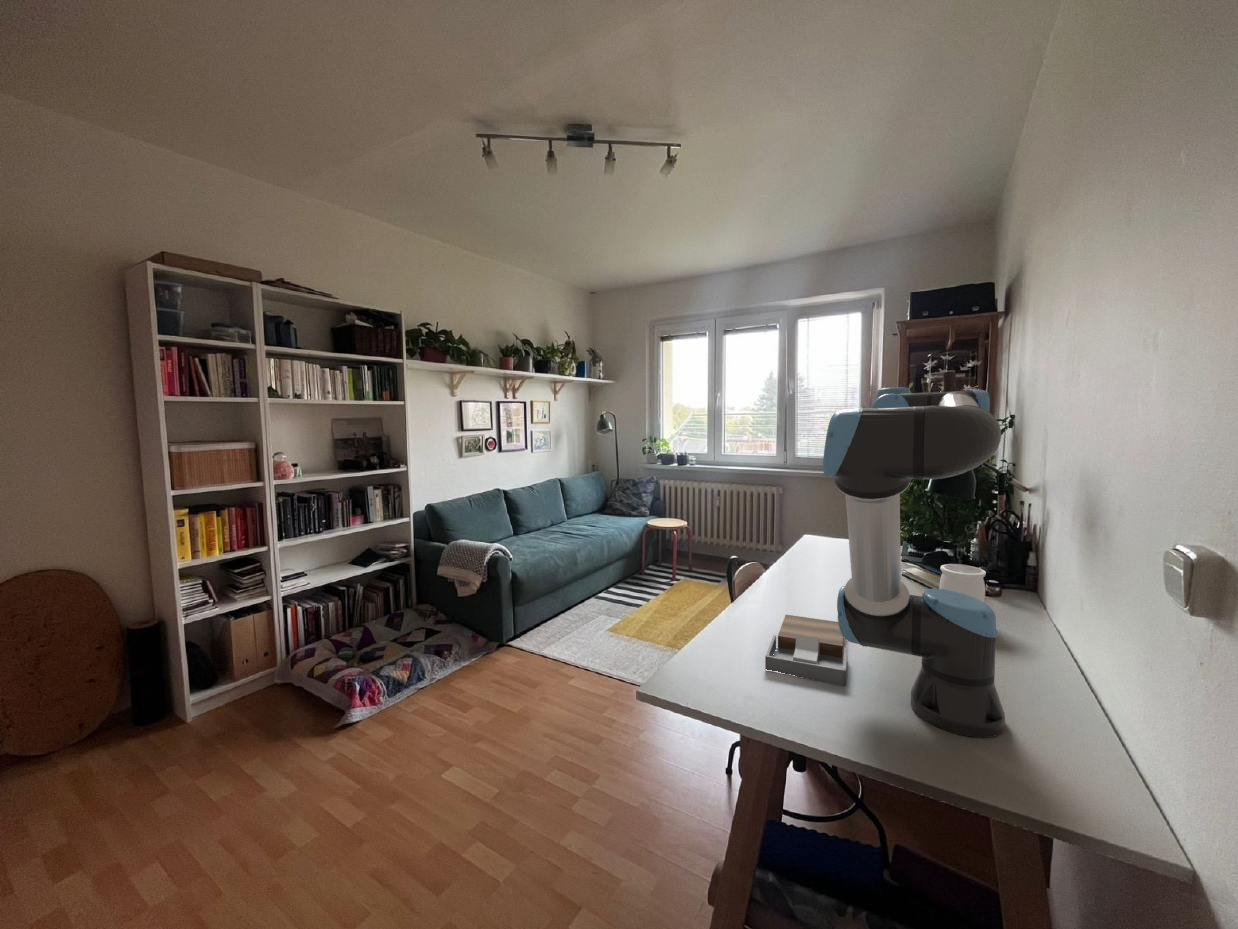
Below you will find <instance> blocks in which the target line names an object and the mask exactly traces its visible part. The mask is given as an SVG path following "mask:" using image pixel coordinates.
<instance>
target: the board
mask: <svg viewBox="0 0 1238 929" xmlns="http://www.w3.org/2000/svg"><path fill="white" fill-rule="evenodd" d="M796 634H797V635H803V636H809V637H816V638H819V642H820V650H819V654H822V655H828V656H834V657H840V658H844V644H845V643H844V640H845V638H844V637H843V635H842V634H841V631H840V628H839V623H838V621H836V620H835V621H834V620H827V619H821V618H820V619H819V618H815V617H814V618H812V617H806V616H800V615H791V614H785V616H784V618H783V621H782V623H781V626H780V629H779V631H778V634H777V647H781V648H786V649H792V650H795V647H796Z"/></svg>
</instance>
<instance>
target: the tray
mask: <svg viewBox="0 0 1238 929" xmlns="http://www.w3.org/2000/svg"><path fill="white" fill-rule="evenodd" d="M776 647H778V646H777V634H773V636H772V638H771V641H770V643H769V646H768V648H767V651H766V653H765V656H764V658H765V660H764V662H765V663H764V664H765V669H767V670H772V671H778V672H781V673H785V674H791V675H795V676H797V678H800V677H803V678H802V679H805V678H808V679H807V680H811V679H813V680H812V681H817V682H821V681H822V682H821V683H827V684H832V685H837V684H838V686H843V687H846V686H847V671H848V668H847V666H848V664H847V663H848V646H845V645H843V658H840V657H834V656H828V655H822V654H819V659H818V664H812V663H807V662H801V661H796V660H793V655H794V652H795V650H792V649H786V648H781V647H778V648H776ZM775 650H777V651H775ZM773 654H774V655H773ZM785 674H784V675H785ZM795 676H794V677H795Z"/></svg>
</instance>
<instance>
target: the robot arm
mask: <svg viewBox="0 0 1238 929" xmlns="http://www.w3.org/2000/svg"><path fill="white" fill-rule="evenodd" d="M875 395H876V397H875V400H874V401H873V403H872V405H871V407H869V408H868V407H867V408H865V407H864V408H863V407H861V406H860V407H858V408H851V409H849V408H848V409H841V410H838V411H835V413H833V414H832V416H831V417H830V419H829V421H828V427H827V430H826V436H825V443H824V450H823V460H822V471H823V475H824V476H826V477H829V478H834V483H835V486H836V488H837V490H838V491H839V492H840V493H842V494H844V495H845V504H846V505H845V507H846V508H845V509H846V521H847V533H848V547H849V548H848V549H849V559H850V572H851V573H850V574H851V578H849V579H848V580H847V582H846V583H845V585H843V586H841V587H840V588H839V590H838V594H837V600H836V609H837V611H836V612H837V622H838V623H839V628H840V631H841V634H842V635H843V637H844V640H846V641H847V642H849V643H852V644H856V645H860V646H862V647H865V648H867V647H869V648H873V649H878V650H882V651H883V650H884V651H888V652H889V651H890V652H894V653H899V654H905V655H910V656H916V657H920V658H921V667H920V670H919V672H918V675H917V677H916V679H915V681H914V683H913V685H912V688H911V690H910V707H911V708H912V709H913V711H914V712H915V714H916V715H917V716H919V717H920V718H921V719H922V720H924V721H926V722H927V723H929V724H931V725H933V726H935V727H937V728H940V729H942V730H944V731H947V732H950V733H953V734H956V735H961V736H967V737H972V738H992V737H996V736H998V735H1000V734H1002V733H1003V732H1004V730H1005V727H1006V726H1005V725H1006V716H1005V715H1006V714H1005V710H1004V708H1003V705H1002V702H1001V700H1000V697H999V696H1000V695H999V694H998V691H997V688H996V685H995V684H996V683H995V673H996V672H995V671H996V641H997V640H996V639H997V637H998V634H999V633H998V630H997V617H996V613H995V611H994V610H993V608H992V607H990V606H989V605H988V604H987V603H986V602H985V601H984V602H982V601H980V600H978V599H976V598H974V597H971V596H968V595H966V594H962V593H959V592H955V591H951V590H945V589H940V588H928V589H925V590H924V592H923V593H922V595H921V596H920V595H913V594H910V592H909V589H908V586H906V584H905V583H904V582H903V581H902V580H901V579H902V578H901V574H902V573H901V570H902V569H901V502H900V501H901V497H900V495H901V494H902V493H904V492H906V490H907V489H908V488H909V486H910V483H911V480H938V479H939V480H942V479H947V478H951V477H954V476H958V475H961V474H965V473H966V472H969V471H971V470H974V469H976V468H978V467H979V466H981V465H982V464H984V463H985V462H987V461H988V460H989V459H990V458H992V456H994V454H995V453H996V452H997V449H998V448H999V446H1000V443H1001V441H1002V440H1001V439H1002V430H1001V427H1000V424H999V422H998V420H997V419H996V418H995V416H994V415H993V414H992V413H991V412H990V407H991V405H990V404H991V402H990V401H991V399H990V393H989V392H988V391H987V390H983V389H979V390H978V389H977V390H976V389H966V390H956V391H955V390H954V391H940V392H939V391H937V392H914V393H912V392H911V389H910V388H909V387H906V386H904V387H903V386H899V387H896V386H895V387H883V388H879V389H877V390H876V394H875Z"/></svg>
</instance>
